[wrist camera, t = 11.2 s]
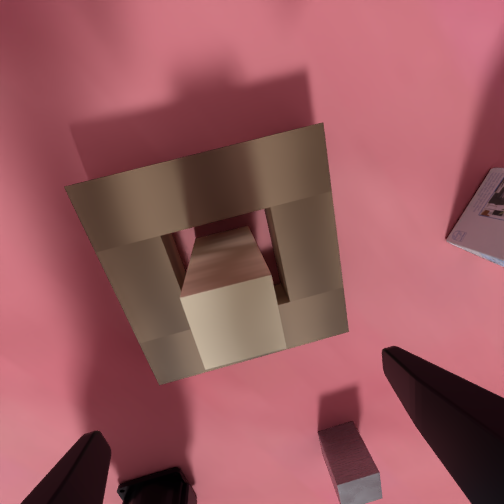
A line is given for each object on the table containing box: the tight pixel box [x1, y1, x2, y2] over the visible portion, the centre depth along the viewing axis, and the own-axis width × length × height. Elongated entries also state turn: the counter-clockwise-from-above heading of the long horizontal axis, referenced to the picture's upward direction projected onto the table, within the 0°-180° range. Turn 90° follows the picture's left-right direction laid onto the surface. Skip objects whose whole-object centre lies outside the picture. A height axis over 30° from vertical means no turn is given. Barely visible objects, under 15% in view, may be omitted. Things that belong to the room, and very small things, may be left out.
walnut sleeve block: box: [64, 123, 349, 385], centre depth 19 cm, size 15×15×3 cm
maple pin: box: [180, 226, 287, 370], centre depth 16 cm, size 4×4×9 cm
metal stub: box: [318, 421, 382, 504], centre depth 27 cm, size 4×4×5 cm
